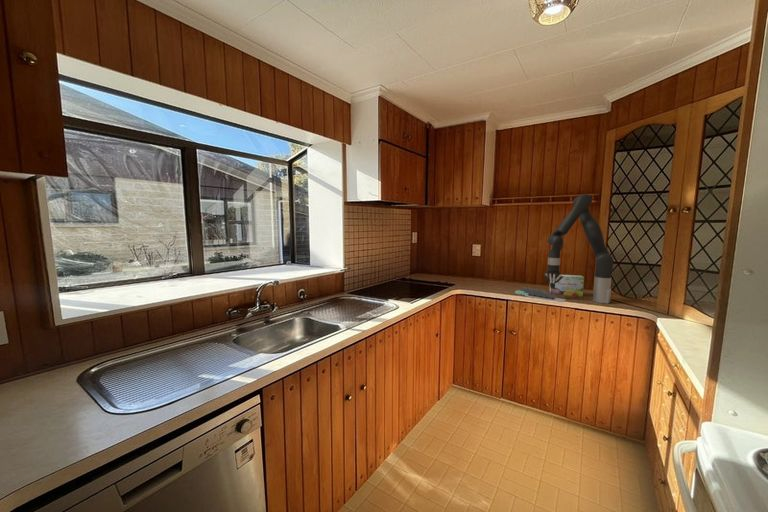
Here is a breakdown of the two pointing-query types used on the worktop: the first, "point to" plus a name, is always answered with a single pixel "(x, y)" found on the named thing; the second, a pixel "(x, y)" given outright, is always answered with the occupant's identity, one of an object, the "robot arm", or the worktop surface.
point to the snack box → (568, 286)
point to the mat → (548, 298)
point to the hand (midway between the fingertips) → (552, 288)
